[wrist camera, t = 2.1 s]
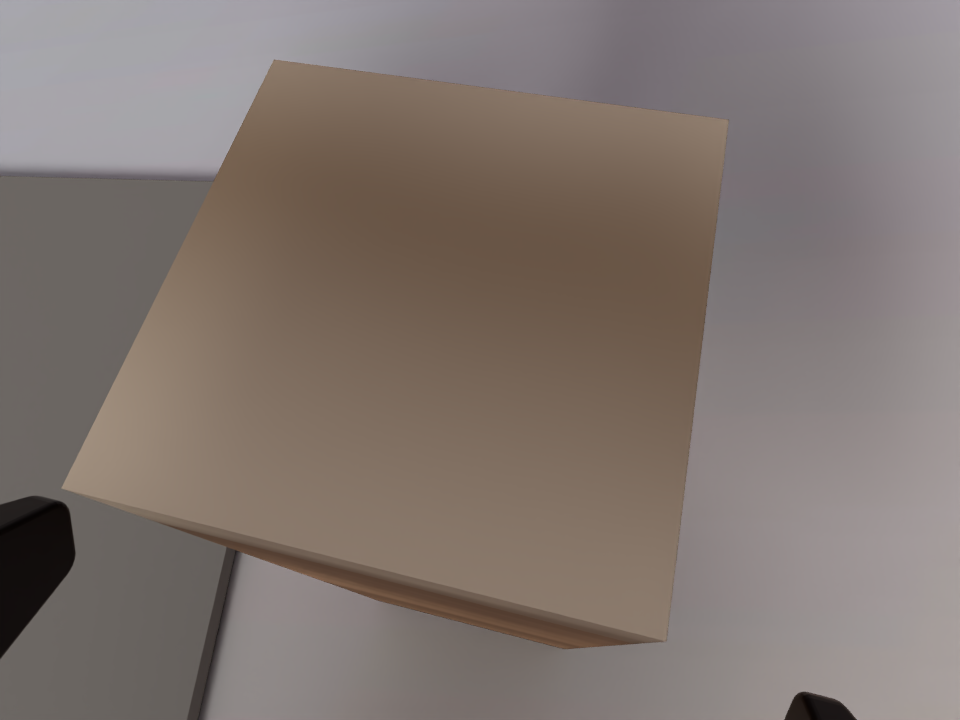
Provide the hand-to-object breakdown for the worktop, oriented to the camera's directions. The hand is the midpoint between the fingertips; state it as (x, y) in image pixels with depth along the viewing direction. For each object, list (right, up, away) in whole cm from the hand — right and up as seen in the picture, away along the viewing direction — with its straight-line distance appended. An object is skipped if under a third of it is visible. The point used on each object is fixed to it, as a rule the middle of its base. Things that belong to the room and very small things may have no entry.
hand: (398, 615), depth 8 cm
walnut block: (+1, -2, +10) cm, 10 cm away
